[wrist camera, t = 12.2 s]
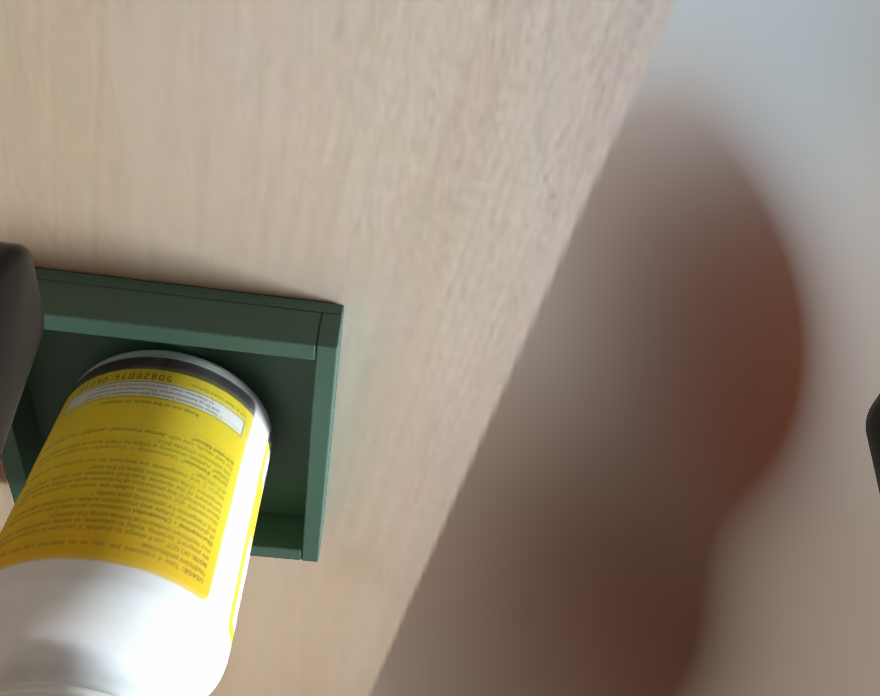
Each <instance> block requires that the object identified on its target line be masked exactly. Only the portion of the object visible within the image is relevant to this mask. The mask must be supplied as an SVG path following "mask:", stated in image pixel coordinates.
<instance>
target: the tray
mask: <svg viewBox="0 0 880 696" xmlns="http://www.w3.org/2000/svg"><path fill="white" fill-rule="evenodd" d="M35 272H36V277H37V282H38V287H39V292H40V297H41V302H42V307H43V312H44V328H43V333H42V337H41V340H40V343H39V346H38V349H37V352H36V355H35V358H34V361H33V363H32V366H31V369H30V372H29V375H28V378H27V381H26V384H25V387H24V390H23V392H22V395H21V398H20V401H19V404H18V407H17V410H16V413H15V416H14V419H13V421H12V424H11V427H10V430H9V433H8V436H7V439H6V442H5V445H4V447H3V450H2V453H1V457H2V461H3V464H4V468H5V471H6V475H7V478H8V482H9V485H10V489H11V492H12V496H13V499H14V503H16V501H17V499H18V497H19V495H20V492H21V490H22V488H23V486H24V484H25V483H26V481H27V479H28V477H29V475H30V472H31V470H32V468H33V466H34V464H35V462H36V460H37V458H38V456H39V454H40V452H41V450H42V448H43V446H44V444H45V442H46V440H47V438H48V436H49V434H50V432H51V430H52V428H53V426H54V424H55V422H56V420H57V418H58V416H59V414H60V412H61V410H62V408H63V406H64V404H65V402H66V400H67V399H68V397H69V395H70V393H71V391H72V389H73V388H74V386H75V384H76V383H77V382H78V380H79V379H80V378H81V377H82V376H83V375H84V374H85V373H86V372H87V371H88V370H90V369H91V368H92V367H94V366H95V365H97V364H98V363H100V362H102V361H104V360H106V359H108V358H110V357H113V356H116V355H119V354H123V353H127V352H132V351H140V350H167V351H175V352H181V353H185V354H189V355H193V356H196V357H199V358H202V359H205V360H207V361H210V362H212V363H215V364H217V365H219V366H221V367H223V368H224V369H226V370H228V371H229V372H231V373H232V374H234V375H235V376H237V377H238V378H239V379H241V380H242V381H243V382H244V383H245V384H246V385H247V386H248V387H249V388H250V389H251V390H252V391H253V392H254V393H255V394H256V396H257V397H258V398H259V400H260V401H261V403H262V404H263V406H264V408H265V410H266V412H267V414H268V416H269V419H270V423H271V427H272V437H273V439H272V450H271V456H270V461H269V465H268V470H267V475H266V479H265V484H264V489H263V493H262V498H261V502H260V507H259V512H258V517H257V522H256V527H255V532H254V537H253V542H252V547H251V552H250V555H251V556H262V557H273V558H284V559H295V560H300V559H302V560H304V561H314V562H317V561H318V558H319V551H320V544H321V537H322V529H323V522H324V514H325V503H326V493H327V482H328V472H329V461H330V451H331V440H332V430H333V419H334V409H335V398H336V388H337V377H338V367H339V356H340V346H341V335H342V325H343V314H344V305H339V304H331V303H322V302H314V301H306V300H298V299H289V298H281V297H273V296H265V295H256V294H248V293H240V292H232V291H223V290H215V289H207V288H199V287H190V286H182V285H174V284H166V283H157V282H149V281H141V280H133V279H124V278H116V277H108V276H100V275H91V274H83V273H75V272H67V271H58V270H50V269H42V268H35Z"/></svg>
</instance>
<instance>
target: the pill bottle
mask: <svg viewBox="0 0 880 696" xmlns="http://www.w3.org/2000/svg"><path fill="white" fill-rule="evenodd" d="M272 439H273V437H272V427H271V423H270V419H269V416H268V414H267V412H266V410H265V408H264V406H263V404H262V403H261V401H260V400H259V398H258V397H257V396H256V394H255V393H254V392H253V391H252V390H251V389H250V388H249V387H248V386H247V385H246V384H245V383H244V382H243V381H242V380H241V379H239V378H238V377H237V376H235V375H234V374H232V373H231V372H229V371H228V370H226V369H224V368H223V367H221V366H219V365H217V364H215V363H212V362H210V361H207V360H205V359H202V358H199V357H196V356H193V355H189V354H185V353H181V352H175V351H167V350H140V351H132V352H127V353H123V354H119V355H116V356H113V357H110V358H108V359H106V360H104V361H102V362H100V363H98V364H97V365H95V366H94V367H92V368H91V369H90V370H88V371H87V372H86V373H85V374H84V375H83V376H82V377H81V378H80V379H79V380H78V382H77V383H76V384H75V386H74V388H73V389H72V391H71V393H70V395H69V397H68V399H67V400H66V402H65V404H64V406H63V408H62V410H61V412H60V414H59V416H58V418H57V420H56V422H55V424H54V426H53V428H52V430H51V432H50V434H49V436H48V438H47V440H46V442H45V444H44V446H43V448H42V450H41V452H40V454H39V456H38V458H37V460H36V462H35V464H34V466H33V468H32V470H31V472H30V475H29V477H28V479H27V481H26V483H25V484H24V486H23V488H22V490H21V492H20V495H19V497H18V499H17V501H16V503H15V505H14V507H13V509H12V511H11V513H10V515H9V517H8V519H7V521H6V523H5V525H4V527H3V529H2V531H1V533H0V696H208V695H209V694H210V693H211V692H212V691H213V689H214V688H215V687H216V685H217V684H218V682H219V681H220V679H221V677H222V675H223V673H224V670H225V668H226V665H227V661H228V657H229V654H230V649H231V645H232V640H233V635H234V631H235V626H236V621H237V616H238V611H239V606H240V601H241V596H242V591H243V586H244V581H245V577H246V572H247V567H248V562H249V557H250V552H251V547H252V542H253V537H254V532H255V527H256V522H257V517H258V512H259V507H260V502H261V498H262V493H263V489H264V484H265V479H266V475H267V470H268V465H269V461H270V456H271V450H272Z"/></svg>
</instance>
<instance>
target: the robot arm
mask: <svg viewBox="0 0 880 696" xmlns="http://www.w3.org/2000/svg"><path fill="white" fill-rule="evenodd" d="M43 328H44V312H43V307H42V302H41V297H40V292H39V287H38V282H37V277H36V272H35V267H34V262H33V258H32V256H31V254H30V252H29V250H28V249H26V248H25V247H24V246H22V245H18V244H11V243H3V242H0V455H1V453H2V450H3V447H4V445H5V442H6V439H7V436H8V433H9V430H10V427H11V424H12V421H13V419H14V416H15V413H16V410H17V407H18V404H19V401H20V398H21V395H22V392H23V390H24V387H25V384H26V381H27V378H28V375H29V372H30V369H31V366H32V363H33V361H34V358H35V355H36V352H37V349H38V346H39V343H40V340H41V337H42V333H43ZM866 433H867V438H868V442H869V447H870V451H871V456H872V460H873V465H874V469H875V474H876V478H877V483H878V487H879V492H880V394H879V396H878V397H877V398H876V400H875V401H874V403H873V404H872V406H871V408H870V409H869V412H868V415H867V419H866Z"/></svg>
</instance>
